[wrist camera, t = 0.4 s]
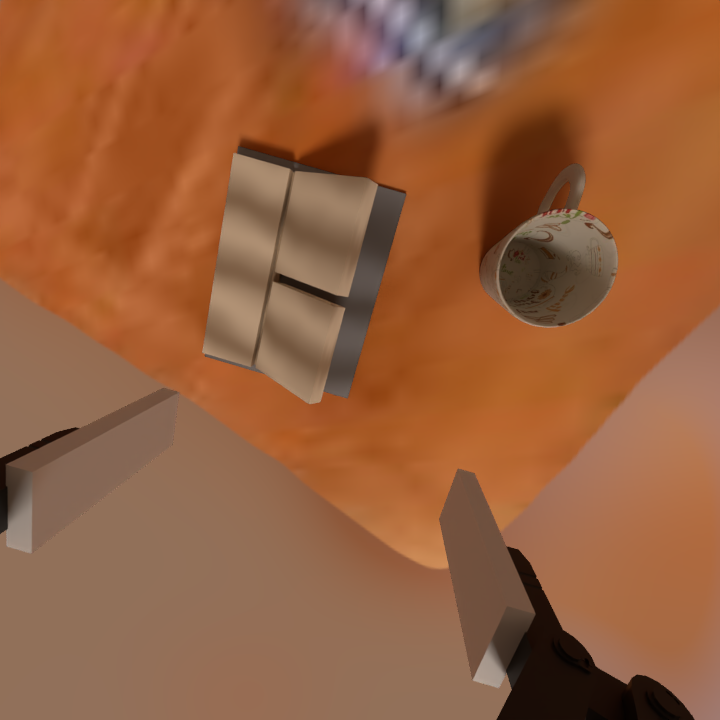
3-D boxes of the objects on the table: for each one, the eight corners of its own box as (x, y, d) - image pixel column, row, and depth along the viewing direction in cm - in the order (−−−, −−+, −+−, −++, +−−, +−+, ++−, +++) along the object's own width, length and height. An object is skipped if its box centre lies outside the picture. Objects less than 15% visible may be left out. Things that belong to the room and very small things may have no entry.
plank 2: (284, 283, 36) (272, 281, 35) (345, 307, 31) (334, 306, 30) (266, 366, 38) (255, 367, 37) (320, 401, 33) (309, 404, 32)
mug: (457, 302, 35) (481, 313, 26) (495, 171, 32) (540, 127, 22) (536, 320, 35) (591, 339, 25) (583, 190, 32) (667, 154, 22)
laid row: (239, 147, 34) (230, 139, 32) (406, 194, 33) (406, 189, 31) (206, 355, 39) (196, 360, 37) (347, 397, 39) (345, 403, 37)
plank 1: (307, 177, 33) (295, 171, 32) (378, 184, 28) (366, 177, 27) (286, 274, 36) (274, 271, 35) (348, 297, 31) (336, 295, 29)
